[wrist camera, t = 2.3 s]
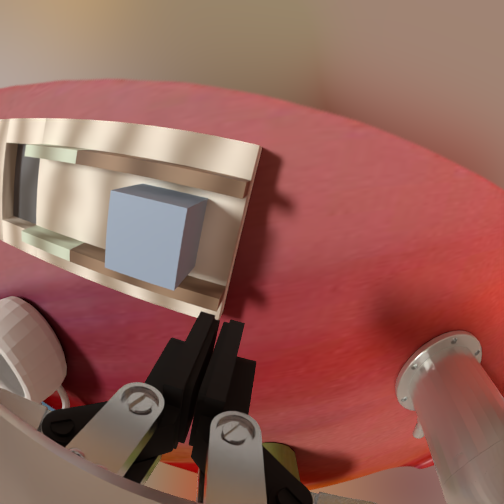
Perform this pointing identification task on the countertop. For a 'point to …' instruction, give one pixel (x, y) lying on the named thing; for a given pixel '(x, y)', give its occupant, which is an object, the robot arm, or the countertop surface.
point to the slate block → (153, 233)
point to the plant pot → (284, 457)
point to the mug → (30, 353)
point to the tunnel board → (114, 177)
